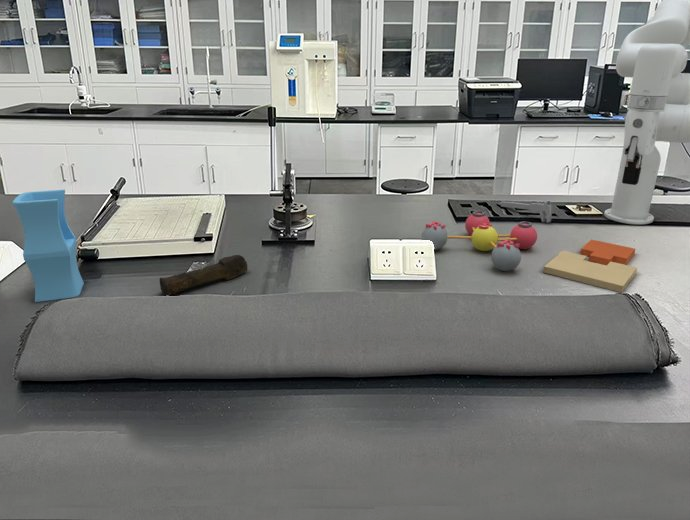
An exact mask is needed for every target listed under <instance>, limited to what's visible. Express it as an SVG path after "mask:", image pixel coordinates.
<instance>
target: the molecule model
mask: <svg viewBox="0 0 690 520" xmlns="http://www.w3.org/2000/svg"><path fill="white" fill-rule="evenodd" d="M464 223H465V224H464V228H465V230H466V232H467V234H468V235H448V232H447V230H446V226H447V225H446V224H442V222H438V221H434V220H432V222H430V223H425V228H423V231H422V232H421V237H420V238H421V241H422V240H430V241H432V242H433V244H434V247H435V250H434V251H437V250H440V249H442V248H444V246H446V244H447V242H448V239H453V240H454V239H456V240H457V239H459V240H462V239H463V240H471V243H472V245H473V247H474V248H475V249H477V250H479V251H481V252H489V251H491V256H490V259H491V262H492V265H493V266H494V267H495V268H496V269H497V270H499V271H503V272H510V271H513V270H515V269H516V268H517V267H518V266H519V265H520V263H521V260H522V253H521V251H520V250H528V249H530V248H532V247H533V246H535V244H536V243H537V240H538V231H537V230H536V228H535V227H534V226H533V223H532V222H530V221H519V222H518V224H516V225H515V226H514V227H513V228H512V229H511V231H510V233H508V234H498V231H497V230H496V229H495V228H494V227H493V225H492V223H491V221H490V219H489V217H488V216H487V215H486V212H485V211H481V210H475V211H473V212H472V214H470V215H468V217H467V218H466V220H465V222H464Z"/></svg>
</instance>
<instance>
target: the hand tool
mask: <svg viewBox="0 0 690 520" xmlns="http://www.w3.org/2000/svg"><path fill="white" fill-rule="evenodd" d="M246 272H248V263H247V260H246V259H245V257H244V256H242V255H241V254H233V255H230V256H226V257H222V258H220V259H219V260H218V262H217V263H215V264H210V265H208V266H207V265H206V266H204V267H200V268H198V269H194V270H189V271H187V272H186V271H185V272H182V273H178V274H174V275H171V276H167V277H160V278H159V286H160V290H161V293H162V294H163V296H165V295H170V296H171V295H174V296H175V295H177V294H178V293H179V292H182V291H183V292H184V291H186V290H189V289H192V288H196V287H200V286H203V285H206V284H209V283H211V282H215V281H218V280H223V281H230V280H233V279H235V278H237V277H239V276H241V275H243V274H245V273H246Z"/></svg>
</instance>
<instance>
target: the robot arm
mask: <svg viewBox="0 0 690 520" xmlns="http://www.w3.org/2000/svg"><path fill="white" fill-rule="evenodd" d="M684 46H685V47H688V46H689V47H690V0H661V1H660V2H659V4H658V5H657V7H656V9H655V11H654V13H653V16H651V17H650V18H649V19H648V20H647V22H646V23H645V24H643V25H642V26H639V27H637V28H635V29H633V30H632V31H630V32H629V33H628V34H627V35H626V36H625V37H624V39H623V41H622V44H621V46H620V48H619V51H618V53H617V57H616V62H615V70H616V72H617V75H618V76H620V77H622V78H632V80H631V86H630V91H629V96H628V101H627V106H626V110H627V111H626V114H625V119H624V136H623V147H622V152H621V157H620V163H619V168H618V173H617V178H616V183H615V188H614V193H613V197H612V198H613V199H612V203H611V207H610V208H607V209H605V210H604V213H603V215H604V217H605V218H606V219H608V220H610V221H613V222H616V223H621V224H626V225H627V224H628V225H640V226H641V225H649V224H652V223H653V222H654V219H655V216H654V215H653V214H651V213H650V209H651V205H652V201H653V195H654V191H655V187H656V182H657V179H658V174H659V169H660V165H661V162H662V161H661V158H662V157H661V153H660V151H659V149H658V148H657V146H656V142H664V143H677V144H688V143H690V73H689V72H683V71H684V70H685V69H686V66H687V63H688V58H689V54H688V52H687V50H686V48H685V47H684Z"/></svg>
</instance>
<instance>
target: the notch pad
mask: <svg viewBox="0 0 690 520" xmlns="http://www.w3.org/2000/svg"><path fill="white" fill-rule="evenodd" d="M587 259H588V256H585V255H581V254H580V253H575V252H571V251H566V250H562V251H560V252H559V253H558V254H556V256H554V257H553V258H552V259H551V260H550V261H549V262H547V263H546V264H545V265H544V266H543V273H544V274H548V275H552V276H556V277H560V278H564V279H567V280H572V281H574V282H575V281H576V282H580V283H583V284H587V285H591V286H595V287H598V288H603V289H606V290H610V291H614V292H618V293H623V292H624V291H625V289H626V288H627V286H628V285H629V284H630V283H631V281H632V280H633V278H634V277H635V276H636V274H637V271H638V267H637V266H632V265H629V264H628V265H627V264H626V265H625V264H621V263H616V262H611V261H610V263H609V264H608V265H604V264H600V263H595V262H591V261H589V260H587Z"/></svg>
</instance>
